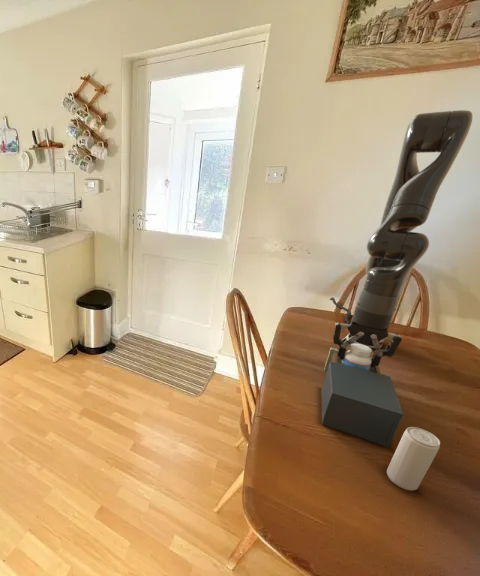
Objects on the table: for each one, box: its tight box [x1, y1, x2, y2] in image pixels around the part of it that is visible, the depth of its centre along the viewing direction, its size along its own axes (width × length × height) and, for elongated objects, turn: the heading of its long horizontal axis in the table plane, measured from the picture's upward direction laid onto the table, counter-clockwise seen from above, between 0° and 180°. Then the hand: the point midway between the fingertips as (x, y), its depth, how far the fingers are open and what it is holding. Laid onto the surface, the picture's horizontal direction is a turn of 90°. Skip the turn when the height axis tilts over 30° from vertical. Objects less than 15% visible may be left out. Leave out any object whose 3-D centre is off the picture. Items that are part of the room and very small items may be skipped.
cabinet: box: [320, 361, 404, 448], centre depth 78 cm, size 16×13×10 cm
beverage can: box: [386, 426, 441, 491], centre depth 61 cm, size 5×5×12 cm
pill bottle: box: [341, 343, 373, 371], centre depth 87 cm, size 6×6×11 cm
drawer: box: [323, 347, 382, 374], centre depth 89 cm, size 20×11×8 cm, turn 146°
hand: (356, 361), depth 87 cm, fingers open, 6 cm apart
